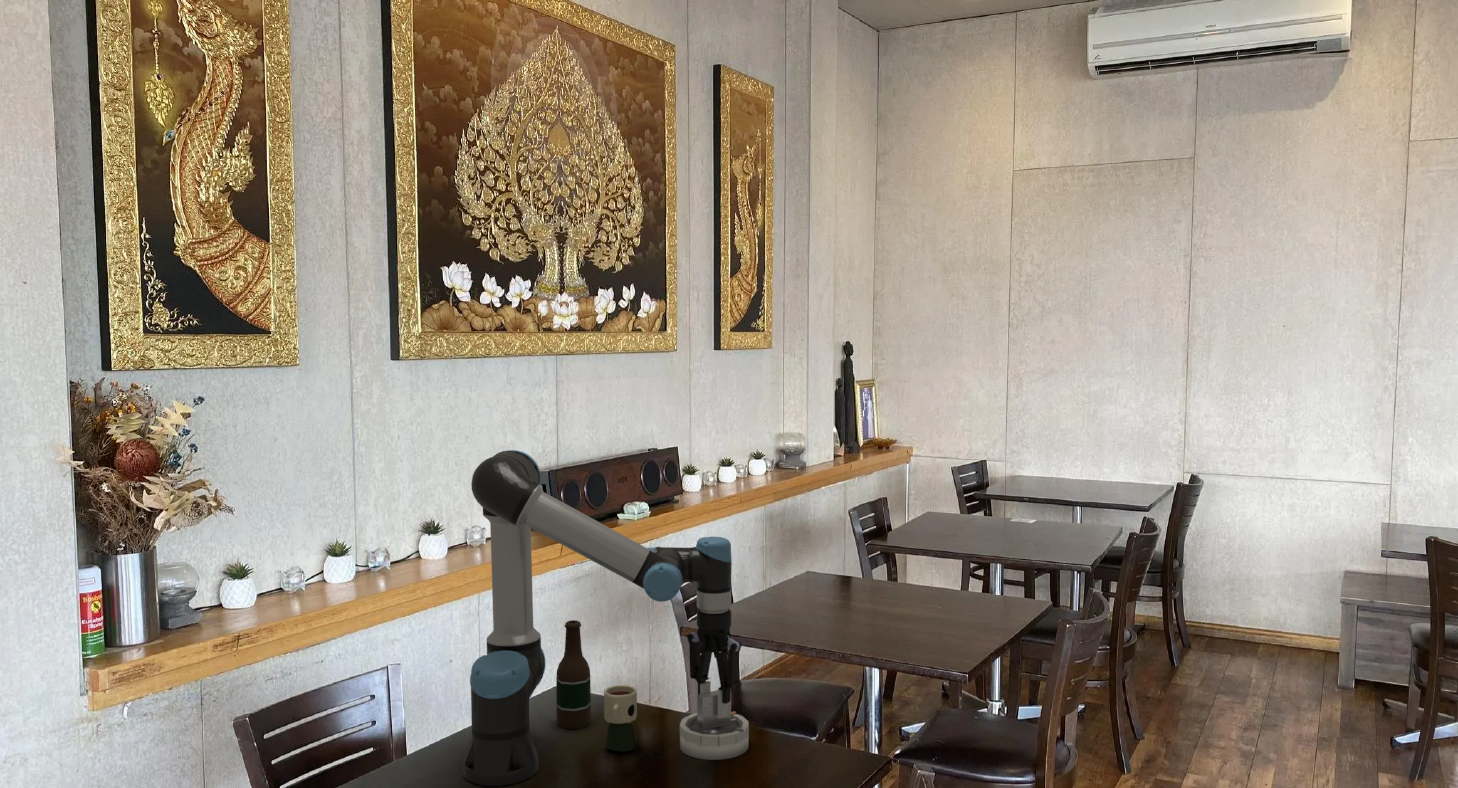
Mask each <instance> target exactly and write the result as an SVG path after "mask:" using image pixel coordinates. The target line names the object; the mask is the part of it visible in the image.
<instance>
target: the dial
mask: <svg viewBox="0 0 1458 788" xmlns="http://www.w3.org/2000/svg"><path fill="white" fill-rule="evenodd" d="M696 697H697V698H696V699H697V700H696V702H697V704H696V706H697V710H696V711H697V712H696V713H697V718H696V719H694V720H692V721H691V722H690V723H689V729H690V730H691V731H694V732H697V733H701V734H713V735H720V734H726V733H732V732H734V731H736V730H735V728H737V727H738V728H739V722H738V721H737V720H736V719H735V718H734V719H733V718H731V712H732V693H731V694H730V702H729V703H728V716H726V717H724V718H722V719H718V689H716V690H712V691H710V692H706V693H701V694H698V693H697V695H696Z"/></svg>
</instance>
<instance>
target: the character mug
mask: <svg viewBox="0 0 1458 788" xmlns="http://www.w3.org/2000/svg"><path fill="white" fill-rule="evenodd" d="M637 691H638V690H637V688H636V687H634V686H631V685H625V684H624V685H623V684H618V685H611V686H608V687H606V688H605V689H604V690H603V718H604V719H603V720H604V721H606V722H607V723H609V724H608V725H607V733H606V744H605V745H606V746H605V747H606V749H607V750H611V751H615V752H618V753H619V752H624V753H625V752H629V751H632V750H633V749H635V745H636V740H635V739H636V738H635V733H634V732H635V731H634V725H633V723H632V722H633V721H635V720H636V719H637V716H638V705H637V703H638V701H637V700H638V697H637V696H638V692H637Z"/></svg>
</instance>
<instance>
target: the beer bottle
mask: <svg viewBox="0 0 1458 788" xmlns="http://www.w3.org/2000/svg"><path fill="white" fill-rule="evenodd" d="M581 627H582V623H581V621H579V620H576V619H575V620H574V619H573V620H567V621H566V622H565V623H564V628H565V641H564V653H563V654H564V655H563V657H562V659H561V661H560V662H559V664H558V666H557V669H556V680H555V681H556V683H555V684H556V689H555V691H556V724H557V725H558V726H559V727H560V728H561V729H563V730H572V729H573V731H574V730H579V729H583V728H586V727H588V725H589V724H590V723H591V719H592V718H591V716H592V715H591V714H592V713H591V712H592V710H591V707H592V705H591V702H592V700H591V699H592V698H591V688H592V687H591V669H590V666H589V663H588V661H587V660H586V658H585V657H584V655H583V650H582V637H581V636H582V635H581Z"/></svg>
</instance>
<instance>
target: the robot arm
mask: <svg viewBox="0 0 1458 788" xmlns="http://www.w3.org/2000/svg"><path fill="white" fill-rule="evenodd" d="M472 474H473V475H472V476H471V477H472V478H471V492H472V495H473V497H474V499H475V500H476V502H477V503H478V505H479V506H481V507H482V515H483V517H485V519H486V520H488V522H489V524H490V554H491V555H490V556H491V557H490V559H491V561H490V563H491V584H492V585H491V589H492V593H491V594H492V626H493V627H492V629H493V630H492V632H491V633H490V634H489V635H488V636H487V637H486V655H482V656H480V657H478V658H477V659H476V660H475V661H474V662H473V663H472V666H471V670H470V675H469V681H470V682H469V684H470V700H471V702H470V704H471V705H470V706H471V707H470V708H471V709H470V710H471V711H470V712H471V713H470V714H471V738H470V741H469V744H468V748H467V751H466V754H465V757H464V760H463V765H462V767H463V777H464V778H465V780H466V781H468V782H470V783H472V784H475V785H479V786H484V787H501V786H508V785H512V784H518V783H520V782H523V781H526V780H528V779H530V778H532V777H533V776H534V775H535V774H537V772H538V771H539V754H538V752H537V749H536V746H535V743H534V741H533V737H532V735H531V732H530V731H531V730H530V699H531V697H532V695H533V693H534V692H535V690H536V689H537V687H538V686H539V684H540V683H541V682H542V680H543V678H544V674H545V671H546V656H545V652H544V649H543V648H542V641H541V639H542V638H541V637H542V636H541V633H540V632H539V631H538V630H537V629H535V627H534V606H533V605H534V603H533V601H534V600H533V569H532V568H533V565H532V564H533V563H532V558H533V557H532V533H531V531H532V530H534V531H535V532H538V533H539V534H541V535H543V536H545V537H547V538H549V539H551V540H553V541H555V542H556V543H558V544H560V545H562V546H564V547H566V548H568V549H569V550H572V551H573V552H575V553H577V554H579V555H581V556H583V557H584V558H586V559H588V560H590V561H591V562H593V563H595V564H597V565H599V566H601V567H603V568H605V569H607V570H608V571H610V572H612V573H615V574H616V575H617V576H619V577H621V578H623V579H625V580H627V581H629V582H630V583H633V584H634V585H636V586H638V587H640V588H642V589H643V590H644V592H645V594H646V595H647V596H648V597H649V598H650V599H652V600H653V601H656V602H658V603H659V602H662V603H663V602H667V601H671V600H672V599H673V598H674V597H676V596H677V595H678V593H679V592H680V590H681V588H682V586H683V583H696V607H697V611H696V626H697V630H696V631H693V632H690V633H688V634H687V635H686V638H687V643H688V645H689V646H688V647H689V648H688V649H689V650H688V651H689V677H690V679H693V680H695V681H696V682H697V694H701V693H706V692H711V681H710V677H709V672H710V666H711V661H712V656H713V657H714V658H715V661H716V667H717V672H718V678H719V685H720V686H719V687H718V688H717V690H718V719H722V718H724V717H726V716H728V703H729V702H730V694H731V695H732V692H731V689H732V688H735V687H737V686H739V683H740V682H739V680H740V679H739V676H740V674H739V673H740V651H741V648H742V645H743V644H742V642H741V641H740V640H739V641H736V640H735V639H733V638H732V633H731V631H730V630H731V626H732V610H731V608H732V544H731V542H730V540H729V539H728V538H726V537H721V536H704V537H700V538H698V539H697V540H696V544H695V545H696V546H692V547H669V546H668V547H666V546H656V547H655V546H654V547H645V546H644V545H642V544H640V543H638V542H637V541H635V540H633V539H631V538H630V537H627V536H625V535H624V534H622V533H620V532H618V531H616V530H615V529H613V528H610V527H609V526H607V525H605V524H603V523H601V522H599V521H598V520H596V519H594V518H592V517H590V516H588V515H587V514H585V513H584V512H581V511H579V510H578V509H576V508H574V507H572V506H570V505H569V504H566V503H565V502H563V501H561V500H559V499H557V498H556V497H553V496H551V495H550V494H548V493H546V492H544V490H543V487H542V485H541V483H540V482H541V471H540V467H539V465H538V463H537V462H536V460H535V459H534V458H533V457H532V456H531V455H530V454H527V453H526V452H524V451H521V450H514V449H512V450H510V449H508V450H502V451H499V452H497V453H496V454H494V455H493V456H491V457H489V458H486V459H484V460H483V461H482V462H481V463H480V464H479V465H478V466H477V467H476V468H475V470H474V471H473V473H472ZM708 680H709V681H708Z"/></svg>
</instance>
